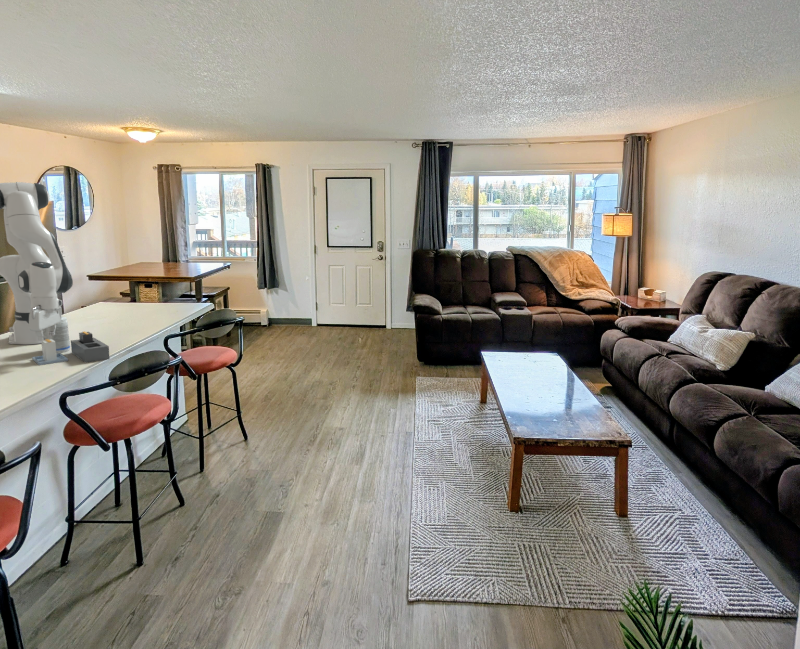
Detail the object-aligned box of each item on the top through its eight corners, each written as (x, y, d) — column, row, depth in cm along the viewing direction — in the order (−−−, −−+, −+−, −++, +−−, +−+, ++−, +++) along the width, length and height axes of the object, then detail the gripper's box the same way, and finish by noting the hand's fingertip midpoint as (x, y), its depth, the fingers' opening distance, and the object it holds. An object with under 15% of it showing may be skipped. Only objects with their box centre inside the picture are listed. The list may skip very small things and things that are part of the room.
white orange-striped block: (43, 359, 216) (41, 339, 214) (53, 358, 218) (51, 338, 217) (46, 362, 212) (44, 342, 211) (57, 360, 215) (55, 340, 213)
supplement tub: (73, 348, 235) (71, 316, 232) (65, 354, 226) (62, 320, 223) (49, 349, 233) (46, 316, 230) (39, 354, 224) (36, 320, 221)
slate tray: (32, 360, 215) (32, 357, 215) (60, 356, 222) (60, 353, 222) (39, 366, 209) (38, 362, 208) (68, 362, 216) (67, 358, 215)
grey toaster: (71, 354, 227) (69, 331, 225) (95, 350, 233) (93, 329, 231) (85, 363, 215) (83, 340, 213) (109, 360, 221) (108, 337, 219)
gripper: (41, 307, 201) (43, 343, 203) (64, 300, 221) (65, 333, 223) (22, 307, 200) (25, 343, 202) (47, 300, 219) (49, 332, 222)
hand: (46, 337), depth 213 cm, fingers open, 8 cm apart
